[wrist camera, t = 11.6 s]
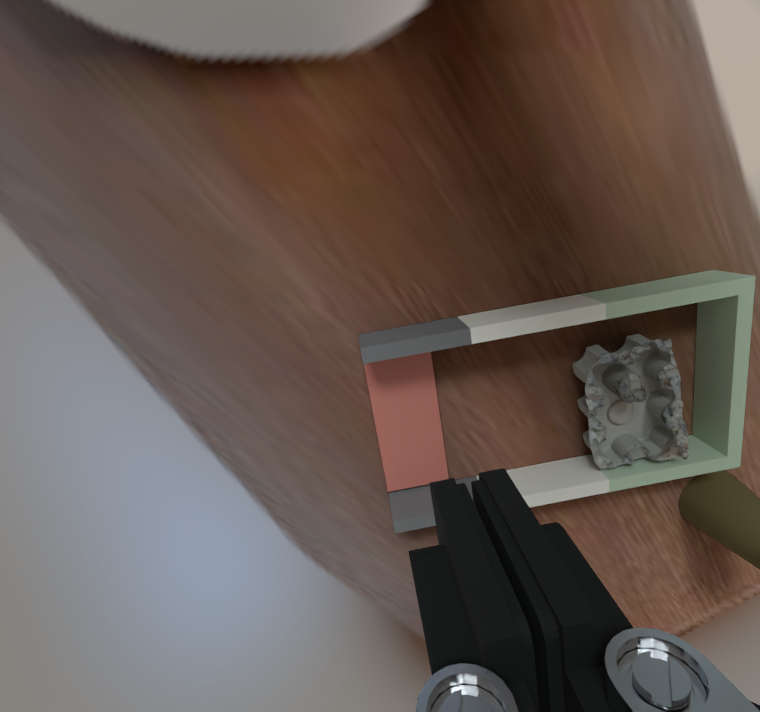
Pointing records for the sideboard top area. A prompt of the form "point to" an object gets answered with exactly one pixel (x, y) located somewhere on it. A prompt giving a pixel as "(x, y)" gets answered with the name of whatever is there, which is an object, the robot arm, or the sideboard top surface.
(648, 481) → the frame
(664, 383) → the egg carton
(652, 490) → the sideboard top surface
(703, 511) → the cork
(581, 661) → the robot arm
